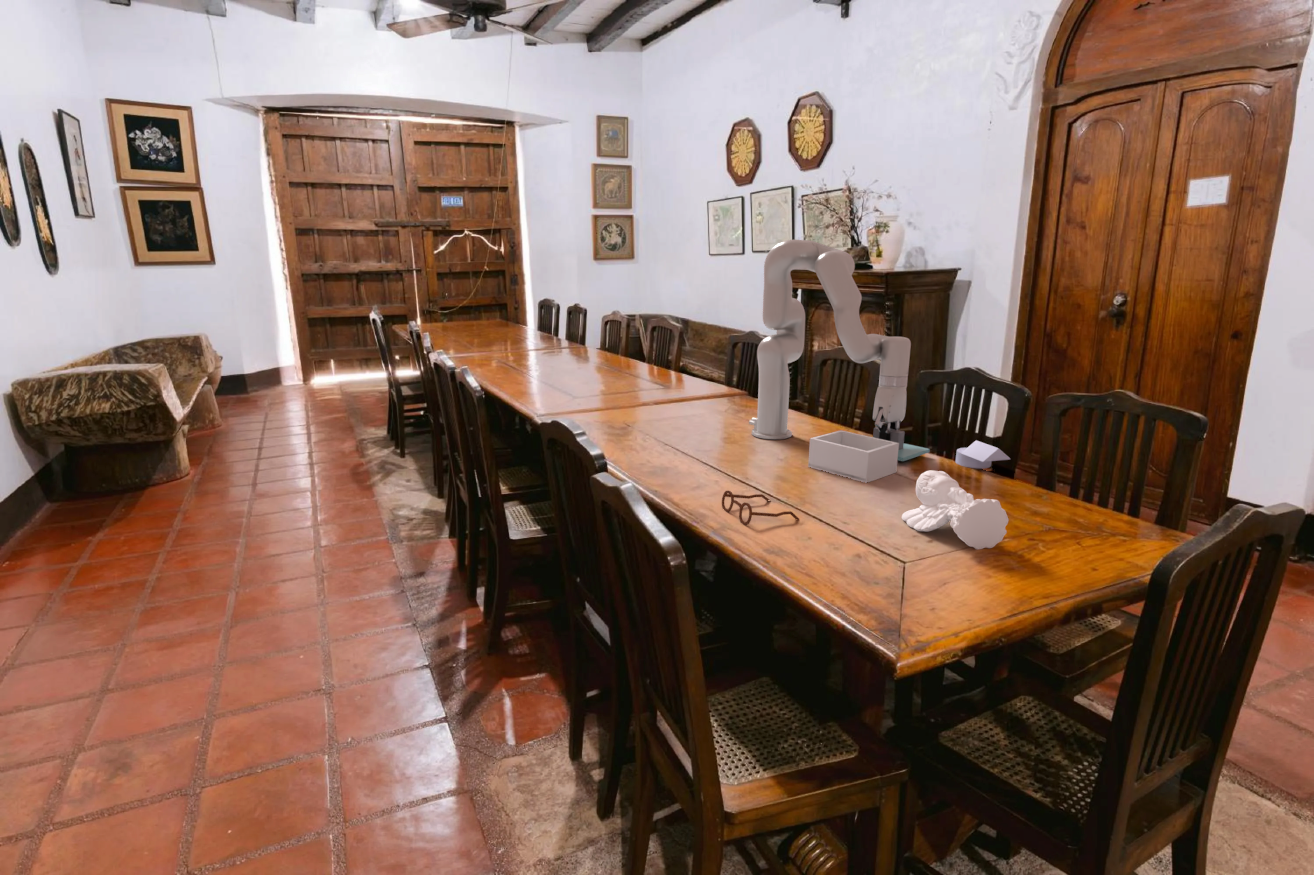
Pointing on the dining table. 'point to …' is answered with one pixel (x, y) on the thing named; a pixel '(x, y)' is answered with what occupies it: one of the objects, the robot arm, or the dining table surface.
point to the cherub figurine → (956, 511)
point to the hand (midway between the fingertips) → (887, 444)
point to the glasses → (749, 507)
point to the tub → (853, 455)
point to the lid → (903, 445)
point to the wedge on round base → (979, 455)
